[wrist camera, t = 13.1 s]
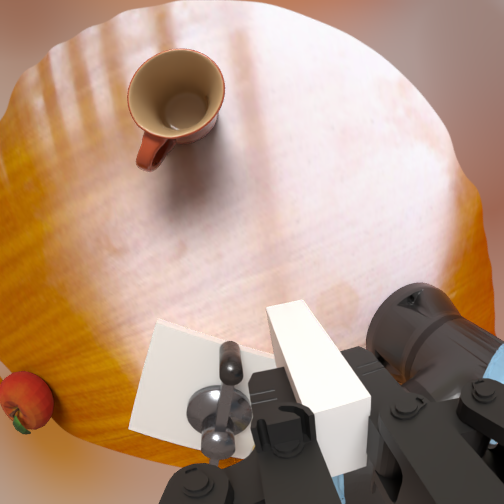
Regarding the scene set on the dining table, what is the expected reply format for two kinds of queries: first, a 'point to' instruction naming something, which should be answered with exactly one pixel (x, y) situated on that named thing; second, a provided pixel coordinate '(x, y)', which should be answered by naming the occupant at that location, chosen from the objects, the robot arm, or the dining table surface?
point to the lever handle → (221, 407)
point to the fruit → (26, 401)
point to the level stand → (186, 384)
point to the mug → (174, 102)
